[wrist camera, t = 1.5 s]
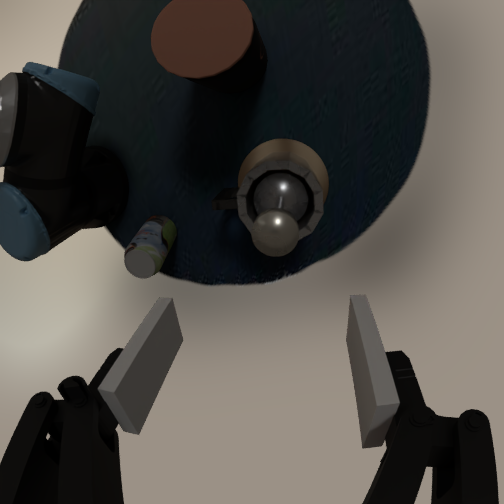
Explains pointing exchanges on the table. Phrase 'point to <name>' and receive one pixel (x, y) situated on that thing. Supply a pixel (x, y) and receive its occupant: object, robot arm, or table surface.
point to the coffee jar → (210, 43)
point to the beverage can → (150, 246)
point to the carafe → (259, 171)
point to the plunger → (278, 213)
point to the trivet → (287, 146)
